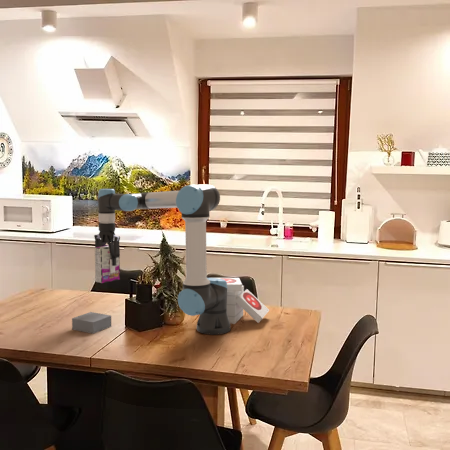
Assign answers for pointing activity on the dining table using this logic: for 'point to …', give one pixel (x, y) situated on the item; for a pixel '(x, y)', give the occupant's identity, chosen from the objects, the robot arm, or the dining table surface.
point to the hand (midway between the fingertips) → (107, 271)
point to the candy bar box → (105, 265)
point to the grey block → (91, 322)
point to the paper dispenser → (242, 302)
